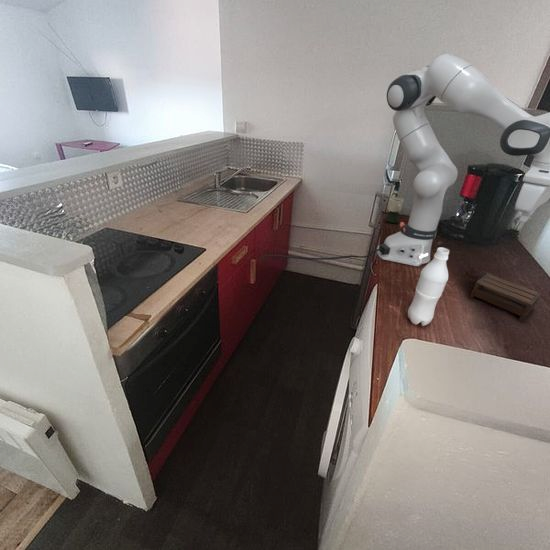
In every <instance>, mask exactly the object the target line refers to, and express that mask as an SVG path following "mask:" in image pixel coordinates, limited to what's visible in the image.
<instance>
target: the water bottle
mask: <svg viewBox="0 0 550 550" xmlns="http://www.w3.org/2000/svg"><path fill="white" fill-rule="evenodd" d="M449 255H450V249H449V248H446V247H441V246H440V247H437V249H436V252H434V254H433V258H432V260H430V261H429V262H428V263H426V265H425V266H424V267H423V268H422V269H421V270H420V275H419V277H418V280H417V283H416V286H415V293H414V296H413V299H412V302H411V304H410V306H409V307H408V309H407V318H408V319H409V320H410V322H411V323H412V324H413V325H415V326H416V325H419V324H421V326H422V327H425V326H427V325H429V324H430V323H431V322H432V320H433V318H434V316H435V309H436V306H437V303H438V301H439V300H440V298H441V296H442V295H443V292H444V290H445V288H446V284H447V282H448V281H449V270H448V266H447V261H448V260H449Z"/></svg>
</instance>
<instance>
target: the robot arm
mask: <svg viewBox="0 0 550 550" xmlns="http://www.w3.org/2000/svg"><path fill="white" fill-rule="evenodd" d="M436 98H437V99H438V100H439V101H440V102H441V103H443V104H444V105H445V106H446V107H448V108H450V109H452V110H454V111H456V112H457V113H461V114H469V115H476V116H480V117H484V118H486V119H489V120H490V121H492V122H493V123H494V124H496V125H497V126H498V127H500V128H501V129H502V130H503V132H502V133H501V136H500V138H499V146H500V149H501V150H502V152H503V153H505V154H507V155H509V156H511V157H522V156H533V159H532V162H531V163H530V166H529V168H528V169H527V171H526V172H525V173H524V175H523V177H522V182H523V184H522V185H521V188H520V190H519V193H518V196H517V198H516V201H515V203H514V210H515V211H518V212H521V216H520V218H519V221H520V222H523V223H526V222H528V221H530V219H531V218H532V216H533V214H534V213H535V212H536V210H537V208H539V207H540V206H542V205H544V204H545V203H547V202H548V201H549V200H550V111H549V112H546V113H544V114H540V115H535V114H532V113H529V112H528V111H526V110H525V109H523V107H520V106H519V105H518V104H516V103H515V102H514V101H512V100H510V99H509V97H508V98H507V97H506V96H505V95H504V94H503V93H502V92H500V90H498V88H497V87H496V86H495V85H494V84H493V83H492V82H491V81H490V80H489V79H488V78H487V77H486V76H485V74H483V73H482V72H481V71H480V70H479V69H478V68H477V67H475V66H474V65H473V64H472V63H470V62H468V61H466V60H465V59H463V58H461V57H459V56H456V55H454V54H451V53H442V54H441V55H438V56H436V58H434V59H433V61H432V62H430V63H429V65H426V66H424V67H419V68H416V69H413V70H411V71H410V72H407V73H405V74H402V75H400V76H398V77H397V78H395V79H394V80H393V81H392V82H391V83H390V84H389V85H388V88H387V89H386V102H387V105H388V106H389V108H390V109H391V110H393V111H394V113H393V116H392V122H393V127H394V131H395V134H396V136H397V138H398V141H399V143H400V145H401V147H402V149H403V151H404V153H405V155H406V157H407V159H408V161H409V162H411V163H412V164H413V165H414V166H415V168H416V170H418V171H419V172H418V173H417V175H416V176H415V178H414V180H413V183H412V186H413V198H412V199H413V200H412V207H411V212H410V214H409V217H408V222H407V223H405V222H404V221H400V222H399V227H400V231H397V232H395V233H392V234H391V235H388V236H387V237H386V238H385V240H384V241H383V243H379V245H377V247H376V249H374V250H372V251H370V252H369V254H367V255H354V254H353V255H351V254H349V255H342V256H341V255H340V256H335V257H334V256H333V257H306V256H304V257H303V256H295V255H285V254H284V255H283V254H264V255H261V256H260V257H259V259H258V260H259V261H261V260H263V259H264V258H287V259H297V260H298V259H300V260H310V261H311V260H312V261H314V260H315V261H319V260H320V261H327V260H328V261H329V260H339V259H346V258H347V259H348V258H359V259H361V258H362V259H363V258H369V257H371V256H372V255H373V254H374V253H376V254H377V256H378V257H379V258H380V259H381V260H384V261H388V262H392V263H393V262H394V263H398V264H404V265H407V266H408V265H409V266H413V267H420V266H421V265H423V264H429V263H430V262H431V253H432V252H431V251H432V245H433V242H434V240H435V238H436V236H437V233H438V225H439V223H440V219H441V217H442V213H443V204H444V199H445V195H446V192H447V190H449V188H451V187H452V186H453V185H454V184H455V182H456V181H457V179H458V175H459V172H458V171H459V170H458V167H457V166H456V165H455V164H454V163H453V161H452V160H451V158H450V157H449V155H448V153H446V151H445V150H444V148H443V147H442V146H441V144H440V142H439V141H438V138H437V136H436V134H435V132H434V130H433V128H432V126H431V124H430V122H429V120H428V118H427V116H426V113H425V109H426V106H431V105H432V104H433V102H434V101H435V99H436Z"/></svg>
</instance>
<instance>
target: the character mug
mask: <svg viewBox="0 0 550 550" xmlns="http://www.w3.org/2000/svg"><path fill="white" fill-rule="evenodd" d="M404 201H405V200H404V198H402V197H394V196H393V197H390V198H389V202H388V205H387V210H388V213H387V216H386V219H385V221H386V222H388V223H391V224H393V223H395V224H396V223H398V221H399V213H400V212H401V211H402V209H403V205H404Z"/></svg>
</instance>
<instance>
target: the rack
mask: <svg viewBox="0 0 550 550" xmlns="http://www.w3.org/2000/svg"><path fill="white" fill-rule="evenodd" d="M541 296H542V293H541V292H538V291H534V290H532V289H529V288H527V287H524V286H522V285H519V284H517V283H513V282H512V281H508V280H507V279H503V278H501V277H498V276H495V275H493V274H491V273H489V272H487V273H486V274H485V275H483V276H482V277H481V278H479V279H478V280H476V282H475V284H474V286H473V288H472V290H471V292H470V294H469V296H468V298H469V299H474V298H475V297H476V298H478V299H480V300H483V301H485V302H487V303H489V304H491V305H494V306H496V307H498V308H500V309H503V310H505V311H507V312H509V313H512V314H514V315H516V316H519V318H518V321H521V322H524V320H525V319H526V317H527V316H528V315H529V314H530V313H531V312H532V310H533V309H534V307H535V305H536V304H537V302H538V300H539V299H540V297H541Z"/></svg>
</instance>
